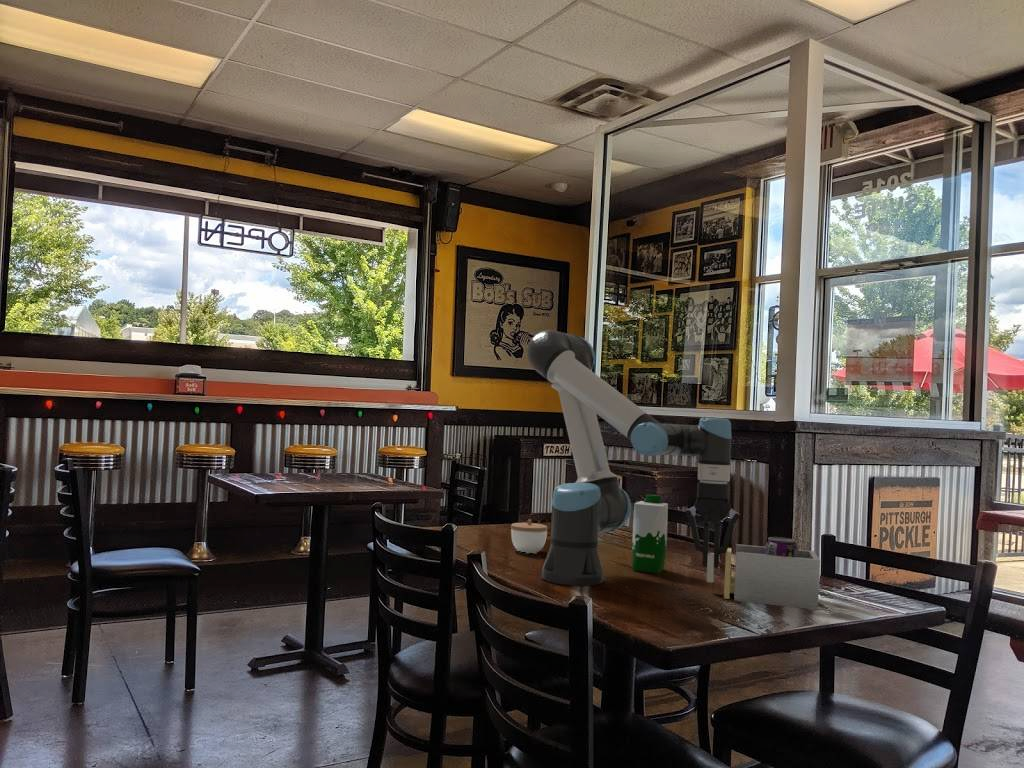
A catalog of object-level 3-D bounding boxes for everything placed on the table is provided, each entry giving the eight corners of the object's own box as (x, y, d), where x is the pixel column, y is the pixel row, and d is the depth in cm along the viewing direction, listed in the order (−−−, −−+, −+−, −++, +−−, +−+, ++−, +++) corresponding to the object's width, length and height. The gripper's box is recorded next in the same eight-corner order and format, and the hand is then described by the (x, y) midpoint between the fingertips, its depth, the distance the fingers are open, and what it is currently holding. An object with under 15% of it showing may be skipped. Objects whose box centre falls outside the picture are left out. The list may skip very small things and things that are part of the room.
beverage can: (798, 595, 185) (800, 542, 185) (765, 592, 186) (767, 539, 187) (793, 589, 192) (795, 538, 192) (762, 586, 193) (764, 535, 194)
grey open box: (734, 600, 185) (736, 552, 186) (734, 589, 198) (736, 544, 199) (817, 609, 180) (819, 560, 181) (812, 597, 194) (814, 551, 194)
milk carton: (667, 569, 221) (670, 495, 221) (660, 574, 212) (664, 498, 213) (635, 565, 224) (639, 493, 225) (628, 570, 216) (631, 495, 216)
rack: (723, 598, 186) (725, 556, 186) (724, 587, 199) (726, 547, 199) (807, 607, 181) (808, 564, 181) (802, 595, 194) (803, 554, 195)
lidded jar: (507, 548, 242) (509, 516, 243) (543, 549, 243) (544, 518, 244) (511, 554, 232) (513, 521, 232) (548, 555, 233) (550, 522, 233)
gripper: (684, 481, 193) (681, 581, 191) (741, 484, 189) (738, 586, 188) (686, 479, 200) (683, 575, 199) (741, 482, 196) (738, 581, 195)
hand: (710, 581), depth 193 cm, fingers closed
